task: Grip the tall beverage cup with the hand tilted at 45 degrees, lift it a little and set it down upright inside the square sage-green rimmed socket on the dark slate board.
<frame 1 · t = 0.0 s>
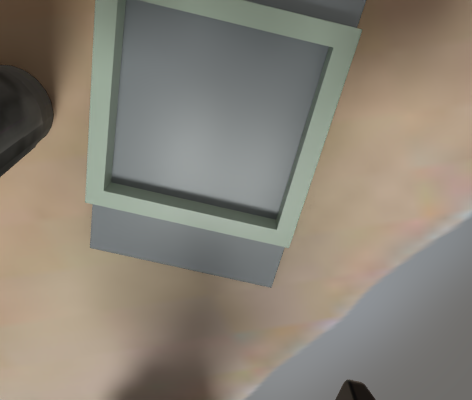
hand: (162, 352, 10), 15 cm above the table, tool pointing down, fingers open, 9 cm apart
beverage cup: (15, 105, 23), on the table
socket board: (214, 99, 21), on the table
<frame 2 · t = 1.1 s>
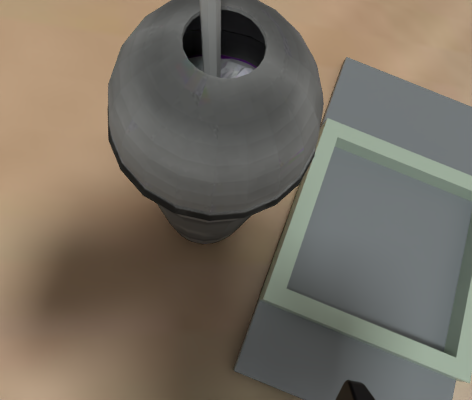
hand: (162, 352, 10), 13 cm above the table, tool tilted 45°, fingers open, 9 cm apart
beverage cup: (205, 208, 25), on the table
socket board: (383, 231, 25), on the table
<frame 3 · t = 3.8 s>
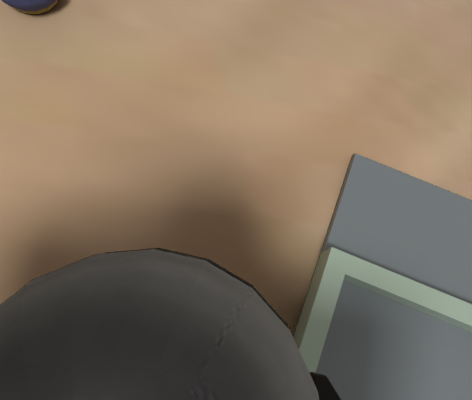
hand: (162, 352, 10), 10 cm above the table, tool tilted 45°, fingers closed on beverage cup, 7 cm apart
rubber mallet: (37, 0, 24), on the table
beverage cup: (170, 368, 19), on the table, touching gripper
socket board: (404, 394, 19), on the table
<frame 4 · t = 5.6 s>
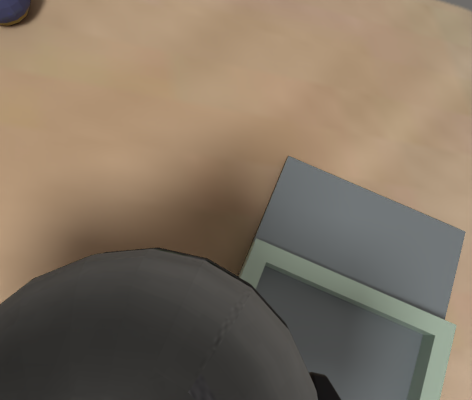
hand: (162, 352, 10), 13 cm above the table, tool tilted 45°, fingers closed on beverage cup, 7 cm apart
rubber mallet: (9, 12, 27), on the table
beverage cup: (171, 367, 19), point 3 cm above the table, touching gripper
socket board: (317, 367, 22), on the table
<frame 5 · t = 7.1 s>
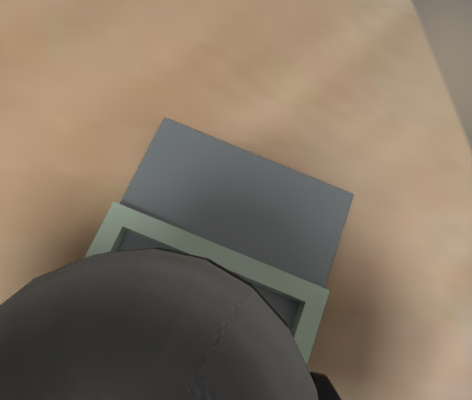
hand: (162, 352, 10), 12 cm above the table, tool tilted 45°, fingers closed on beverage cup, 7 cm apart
beverage cup: (173, 367, 19), point 1 cm above the table, touching gripper
socket board: (182, 340, 21), on the table
when the fingers open (12 cm above the table, at t = 7.7 s): beverage cup stays where it is, resting on socket board.
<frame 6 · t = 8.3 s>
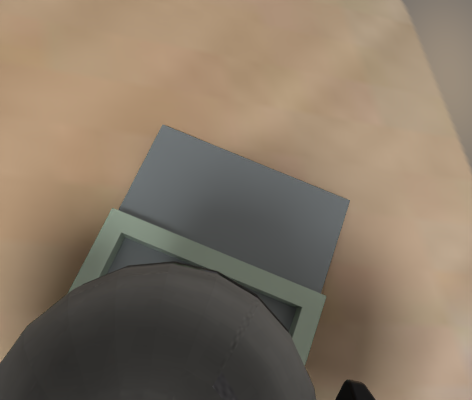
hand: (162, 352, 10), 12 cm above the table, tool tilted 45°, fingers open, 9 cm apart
beverage cup: (176, 367, 20), resting on socket board
socket board: (180, 345, 21), on the table
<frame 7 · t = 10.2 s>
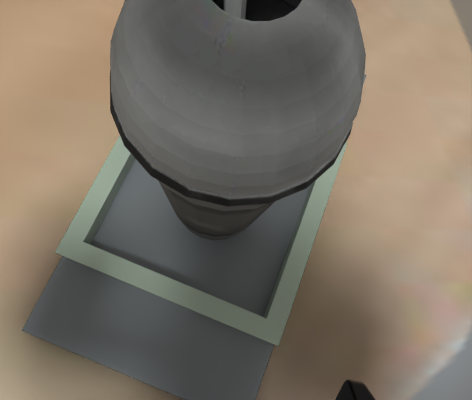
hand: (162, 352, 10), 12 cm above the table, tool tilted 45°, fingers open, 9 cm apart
beverage cup: (215, 202, 23), resting on socket board
socket board: (218, 187, 24), on the table
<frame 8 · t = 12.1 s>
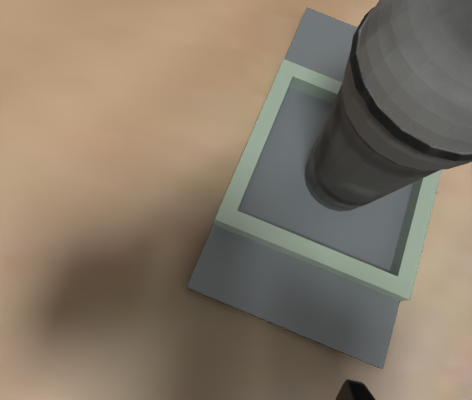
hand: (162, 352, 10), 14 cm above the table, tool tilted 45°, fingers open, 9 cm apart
beverage cup: (337, 179, 26), resting on socket board
socket board: (336, 166, 27), on the table
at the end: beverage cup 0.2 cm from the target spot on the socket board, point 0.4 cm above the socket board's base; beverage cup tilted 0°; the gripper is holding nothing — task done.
